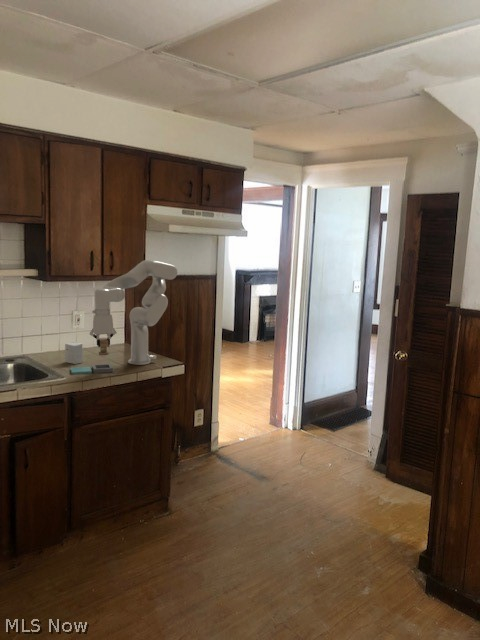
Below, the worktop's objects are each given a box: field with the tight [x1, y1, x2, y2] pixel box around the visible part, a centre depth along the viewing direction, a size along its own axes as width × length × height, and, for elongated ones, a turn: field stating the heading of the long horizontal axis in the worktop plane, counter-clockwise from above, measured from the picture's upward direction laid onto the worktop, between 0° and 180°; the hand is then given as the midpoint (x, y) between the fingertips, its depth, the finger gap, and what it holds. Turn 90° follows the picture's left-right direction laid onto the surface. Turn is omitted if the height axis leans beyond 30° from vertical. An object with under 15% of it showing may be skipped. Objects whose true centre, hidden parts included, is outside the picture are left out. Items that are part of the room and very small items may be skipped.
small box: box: [64, 342, 84, 365], centre depth 295 cm, size 8×6×10 cm
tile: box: [69, 366, 93, 375], centre depth 278 cm, size 10×10×1 cm
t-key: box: [98, 337, 110, 356], centre depth 280 cm, size 9×5×8 cm, turn 21°
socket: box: [91, 363, 115, 374], centre depth 282 cm, size 10×10×2 cm
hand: (103, 346), depth 280 cm, fingers closed on t-key, 4 cm apart
